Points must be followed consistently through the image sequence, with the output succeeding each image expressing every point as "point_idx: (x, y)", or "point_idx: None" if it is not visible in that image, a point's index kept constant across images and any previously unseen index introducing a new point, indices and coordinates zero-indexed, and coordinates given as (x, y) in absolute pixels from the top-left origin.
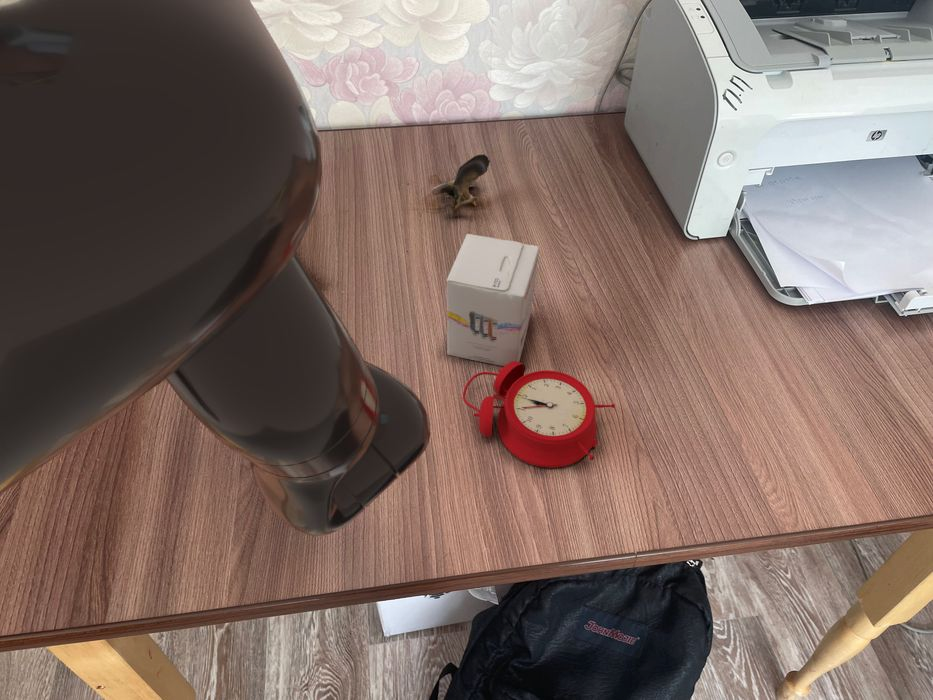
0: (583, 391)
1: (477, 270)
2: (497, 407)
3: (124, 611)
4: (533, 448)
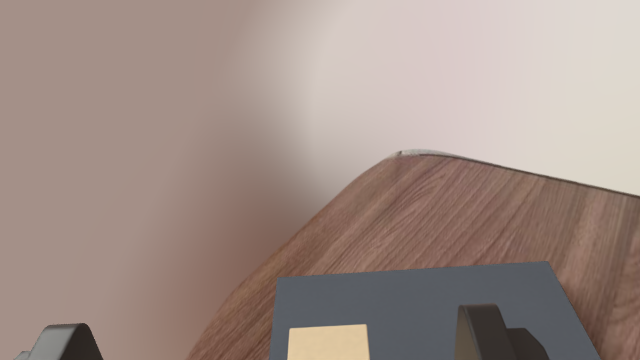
0: None
1: None
2: None
3: None
4: None
